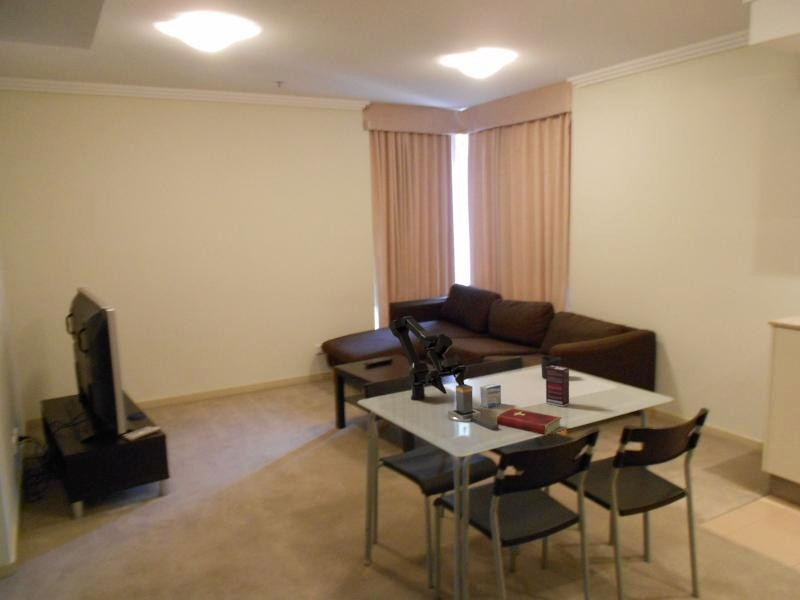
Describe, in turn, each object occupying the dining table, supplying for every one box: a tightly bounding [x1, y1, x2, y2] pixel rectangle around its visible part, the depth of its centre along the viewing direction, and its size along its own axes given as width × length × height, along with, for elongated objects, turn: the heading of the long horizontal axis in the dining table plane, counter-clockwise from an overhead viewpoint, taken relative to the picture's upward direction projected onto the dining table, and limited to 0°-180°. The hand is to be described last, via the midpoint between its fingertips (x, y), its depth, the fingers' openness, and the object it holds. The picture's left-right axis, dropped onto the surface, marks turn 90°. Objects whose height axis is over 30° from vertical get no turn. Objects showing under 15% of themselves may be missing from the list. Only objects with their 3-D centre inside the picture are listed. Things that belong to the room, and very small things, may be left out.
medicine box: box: [479, 383, 502, 409], centre depth 257 cm, size 8×4×9 cm, turn 123°
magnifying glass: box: [447, 408, 500, 431], centre depth 237 cm, size 25×12×2 cm, turn 31°
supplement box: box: [545, 366, 570, 408], centre depth 255 cm, size 9×5×16 cm, turn 44°
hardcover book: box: [495, 407, 562, 436], centre depth 230 cm, size 12×21×4 cm, turn 49°
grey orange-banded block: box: [455, 383, 474, 415], centre depth 242 cm, size 5×5×12 cm
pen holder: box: [540, 355, 562, 380], centre depth 299 cm, size 9×9×10 cm
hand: (455, 391), depth 247 cm, fingers open, 9 cm apart
